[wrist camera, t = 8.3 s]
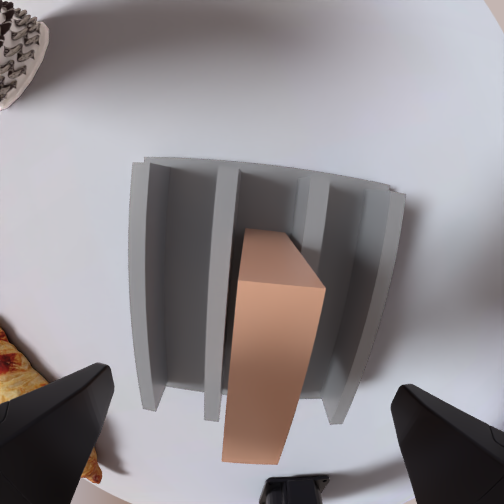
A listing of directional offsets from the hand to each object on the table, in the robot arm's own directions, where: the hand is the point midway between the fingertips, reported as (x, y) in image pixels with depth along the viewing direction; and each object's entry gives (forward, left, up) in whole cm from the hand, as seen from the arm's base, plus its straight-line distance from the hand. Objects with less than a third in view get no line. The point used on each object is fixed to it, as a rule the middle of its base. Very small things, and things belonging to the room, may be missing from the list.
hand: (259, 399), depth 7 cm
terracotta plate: (0, 0, -8) cm, 8 cm away
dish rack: (0, 0, -9) cm, 9 cm away
